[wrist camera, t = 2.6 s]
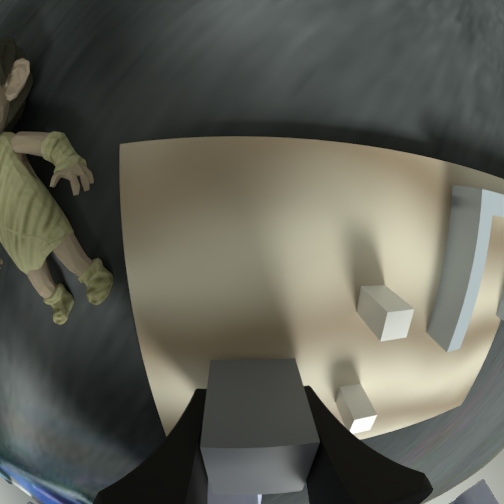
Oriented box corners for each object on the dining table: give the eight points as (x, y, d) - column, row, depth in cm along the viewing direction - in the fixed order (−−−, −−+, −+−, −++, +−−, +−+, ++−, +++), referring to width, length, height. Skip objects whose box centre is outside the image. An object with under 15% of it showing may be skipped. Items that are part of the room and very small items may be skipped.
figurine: (21, 371, 8) (-101, 119, 1) (65, 295, 14) (-33, 105, 7) (133, 322, 8) (-18, -16, 1) (162, 238, 13) (50, 15, 7)
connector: (281, 455, 13) (291, 516, 9) (221, 457, 13) (219, 518, 8) (296, 357, 11) (321, 441, 6) (209, 359, 11) (198, 447, 6)
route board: (455, 397, 15) (461, 404, 14) (173, 439, 14) (171, 450, 13) (514, 185, 11) (525, 187, 10) (129, 146, 10) (119, 144, 9)
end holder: (502, 313, 12) (520, 325, 10) (426, 332, 12) (446, 352, 10) (524, 203, 10) (546, 208, 8) (452, 184, 10) (482, 188, 8)
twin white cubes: (355, 398, 13) (370, 429, 10) (335, 402, 12) (347, 435, 10) (384, 284, 11) (414, 308, 8) (360, 286, 11) (387, 312, 8)
